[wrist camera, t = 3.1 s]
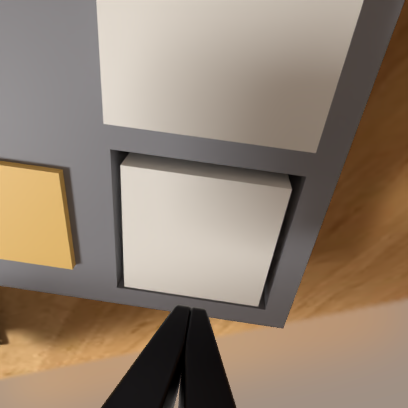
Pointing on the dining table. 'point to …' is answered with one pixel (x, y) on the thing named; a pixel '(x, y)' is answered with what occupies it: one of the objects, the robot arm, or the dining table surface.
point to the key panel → (145, 144)
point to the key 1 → (200, 227)
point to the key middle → (224, 67)
